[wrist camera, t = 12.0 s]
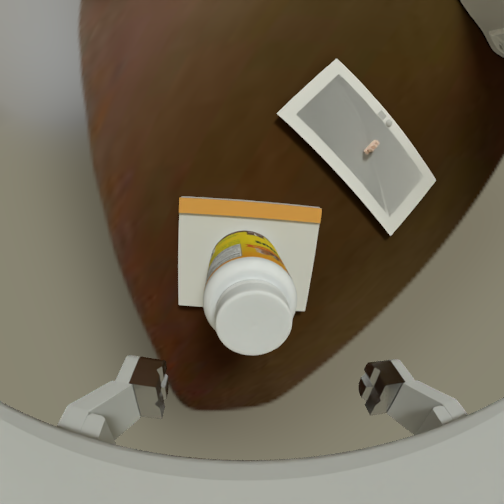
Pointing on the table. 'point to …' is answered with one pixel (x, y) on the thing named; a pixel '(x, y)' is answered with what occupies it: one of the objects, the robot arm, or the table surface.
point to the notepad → (244, 218)
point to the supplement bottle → (249, 294)
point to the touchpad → (360, 143)
